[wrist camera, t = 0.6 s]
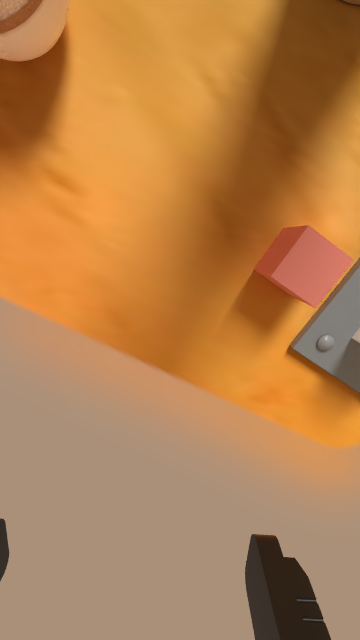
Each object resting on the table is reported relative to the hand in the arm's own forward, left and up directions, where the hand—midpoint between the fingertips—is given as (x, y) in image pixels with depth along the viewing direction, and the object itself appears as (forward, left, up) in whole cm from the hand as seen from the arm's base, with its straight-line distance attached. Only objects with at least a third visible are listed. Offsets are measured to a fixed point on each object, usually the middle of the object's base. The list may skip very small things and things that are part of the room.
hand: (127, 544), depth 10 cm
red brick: (-13, +7, -24) cm, 28 cm away
